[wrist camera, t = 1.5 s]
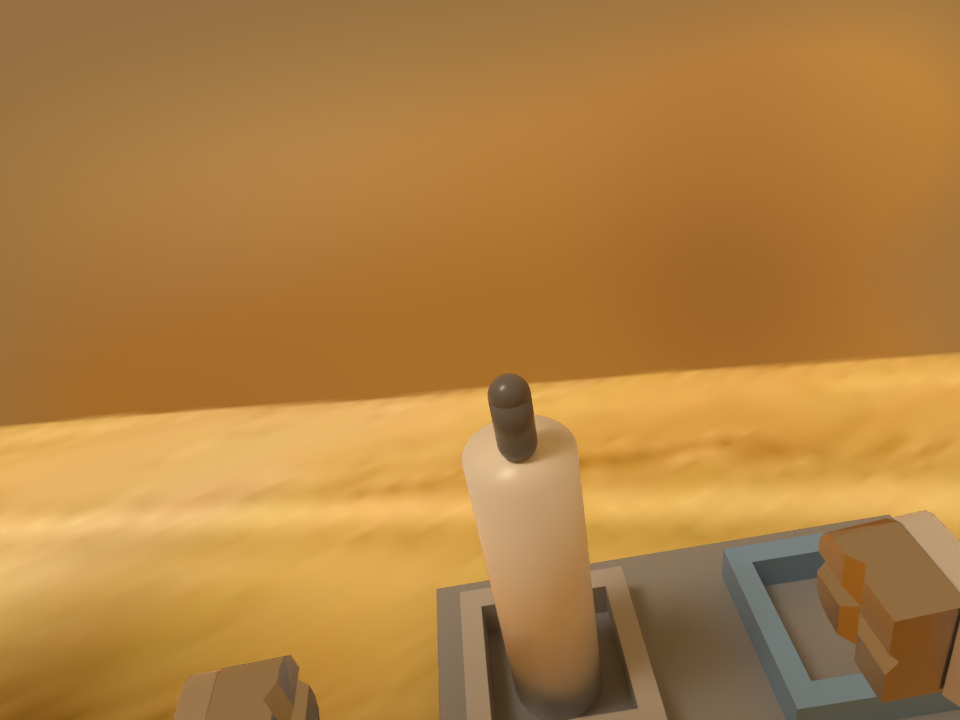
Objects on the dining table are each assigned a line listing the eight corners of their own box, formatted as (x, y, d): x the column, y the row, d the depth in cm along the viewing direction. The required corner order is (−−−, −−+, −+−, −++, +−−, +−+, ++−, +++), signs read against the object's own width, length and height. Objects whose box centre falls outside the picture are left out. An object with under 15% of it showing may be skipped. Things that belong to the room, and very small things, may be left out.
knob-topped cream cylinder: (519, 728, 30) (446, 428, 21) (509, 646, 34) (443, 354, 24) (610, 714, 30) (580, 405, 20) (591, 632, 33) (557, 334, 24)
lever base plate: (447, 855, 28) (432, 822, 26) (440, 600, 37) (429, 564, 36) (1058, 762, 27) (1084, 722, 25) (885, 527, 37) (896, 487, 35)
